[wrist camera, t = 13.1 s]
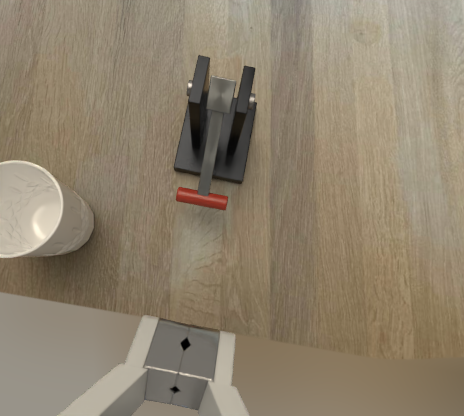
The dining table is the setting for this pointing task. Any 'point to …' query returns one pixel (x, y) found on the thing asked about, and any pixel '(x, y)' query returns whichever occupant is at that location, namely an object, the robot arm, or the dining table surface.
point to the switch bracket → (232, 130)
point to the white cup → (39, 213)
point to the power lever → (211, 145)
